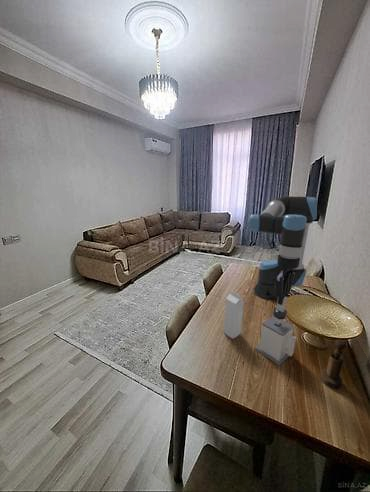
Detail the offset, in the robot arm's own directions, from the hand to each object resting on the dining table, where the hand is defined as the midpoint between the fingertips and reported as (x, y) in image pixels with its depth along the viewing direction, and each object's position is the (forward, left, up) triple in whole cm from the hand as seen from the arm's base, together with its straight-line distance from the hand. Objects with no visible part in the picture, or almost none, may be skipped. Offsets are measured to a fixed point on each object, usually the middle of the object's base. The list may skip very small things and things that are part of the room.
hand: (280, 310), depth 86 cm
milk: (+5, -19, -21) cm, 29 cm away
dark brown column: (-3, +21, -21) cm, 30 cm away
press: (0, 0, -21) cm, 21 cm away
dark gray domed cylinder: (0, 0, -14) cm, 14 cm away
